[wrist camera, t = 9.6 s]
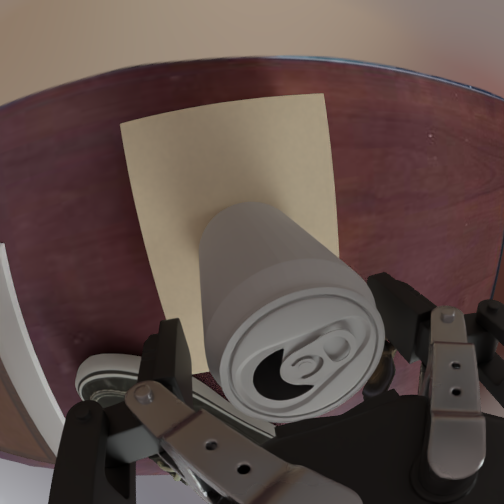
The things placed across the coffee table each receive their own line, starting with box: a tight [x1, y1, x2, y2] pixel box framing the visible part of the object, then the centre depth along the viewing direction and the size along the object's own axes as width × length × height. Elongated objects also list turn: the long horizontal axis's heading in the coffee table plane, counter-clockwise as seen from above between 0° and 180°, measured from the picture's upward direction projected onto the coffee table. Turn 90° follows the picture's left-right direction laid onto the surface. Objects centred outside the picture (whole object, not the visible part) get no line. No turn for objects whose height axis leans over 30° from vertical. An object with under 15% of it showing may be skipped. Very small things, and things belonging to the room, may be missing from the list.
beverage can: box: [199, 202, 385, 423], centre depth 15 cm, size 6×6×12 cm
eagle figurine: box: [362, 337, 397, 401], centre depth 34 cm, size 8×7×9 cm
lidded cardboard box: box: [120, 93, 339, 374], centre depth 24 cm, size 19×13×8 cm
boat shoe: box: [75, 354, 276, 485], centre depth 30 cm, size 11×31×10 cm, turn 51°
